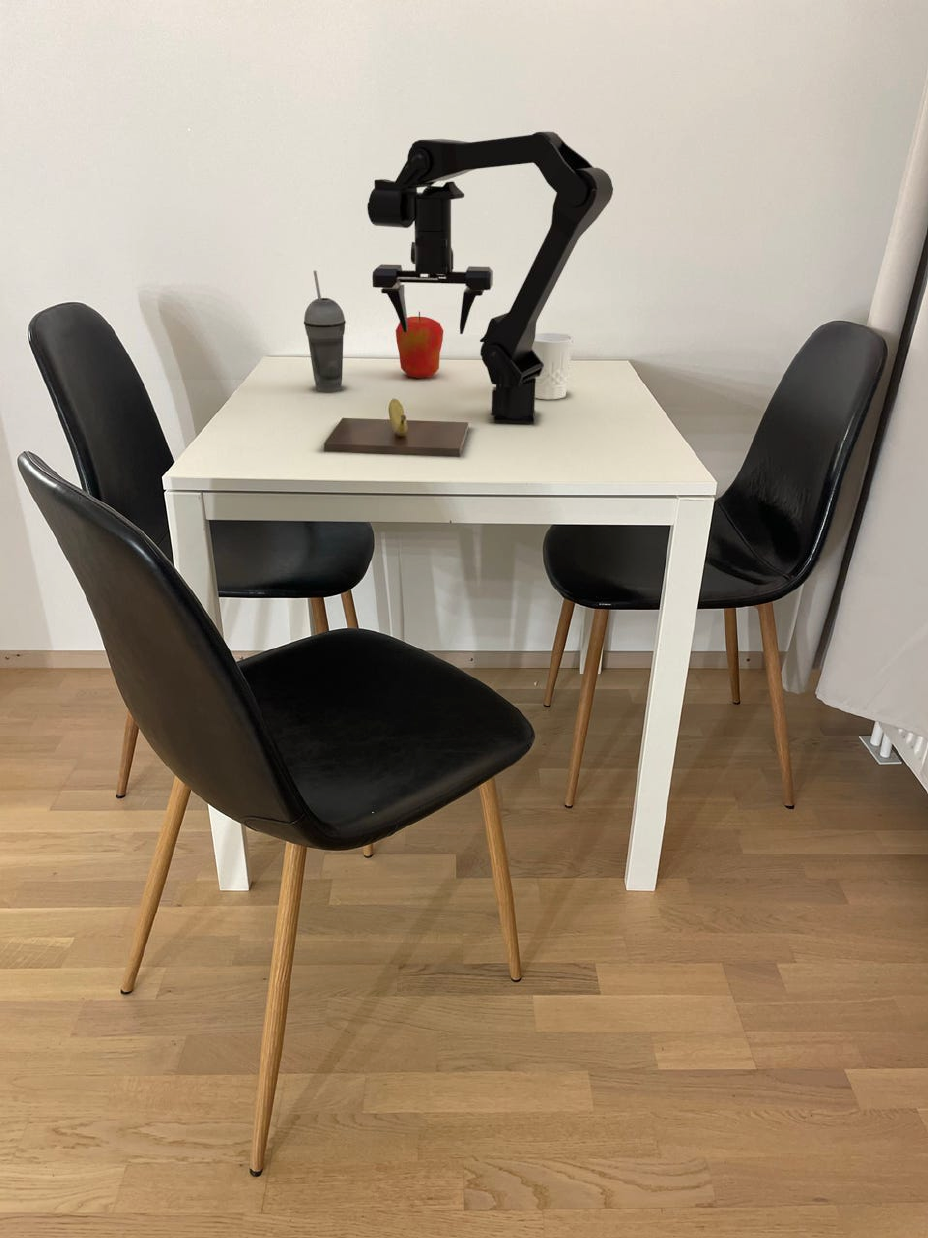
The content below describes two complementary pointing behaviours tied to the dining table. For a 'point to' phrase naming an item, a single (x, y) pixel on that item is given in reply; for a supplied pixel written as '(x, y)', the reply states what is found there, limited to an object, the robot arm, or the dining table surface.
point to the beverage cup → (325, 341)
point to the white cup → (552, 364)
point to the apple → (420, 346)
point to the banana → (397, 418)
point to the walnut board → (397, 437)
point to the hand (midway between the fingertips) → (433, 332)
